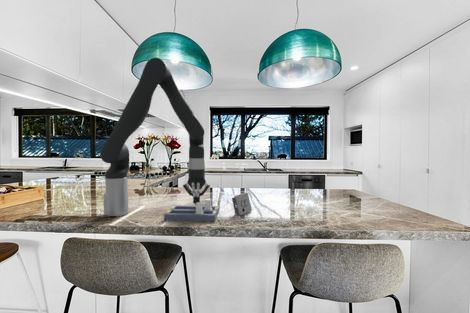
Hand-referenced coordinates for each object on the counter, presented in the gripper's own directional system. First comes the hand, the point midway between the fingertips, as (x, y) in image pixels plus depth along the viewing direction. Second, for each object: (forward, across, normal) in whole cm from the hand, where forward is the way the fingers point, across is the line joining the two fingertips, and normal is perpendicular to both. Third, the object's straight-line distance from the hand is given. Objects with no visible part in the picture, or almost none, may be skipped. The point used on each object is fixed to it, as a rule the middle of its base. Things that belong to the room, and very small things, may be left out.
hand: (196, 204), depth 108 cm
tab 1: (+3, +3, -6) cm, 8 cm away
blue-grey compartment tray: (+4, -1, -3) cm, 6 cm away
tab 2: (+3, +5, 0) cm, 6 cm away
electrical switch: (+4, +21, +3) cm, 22 cm away
